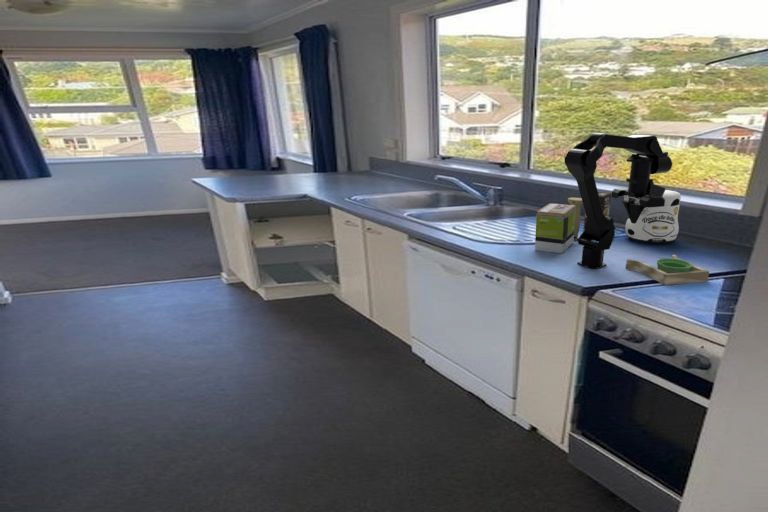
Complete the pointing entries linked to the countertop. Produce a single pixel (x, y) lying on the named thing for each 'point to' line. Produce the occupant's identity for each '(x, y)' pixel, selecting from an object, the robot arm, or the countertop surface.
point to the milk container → (657, 221)
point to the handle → (576, 213)
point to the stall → (671, 278)
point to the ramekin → (673, 265)
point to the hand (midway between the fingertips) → (633, 223)
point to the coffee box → (602, 204)
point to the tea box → (555, 227)
